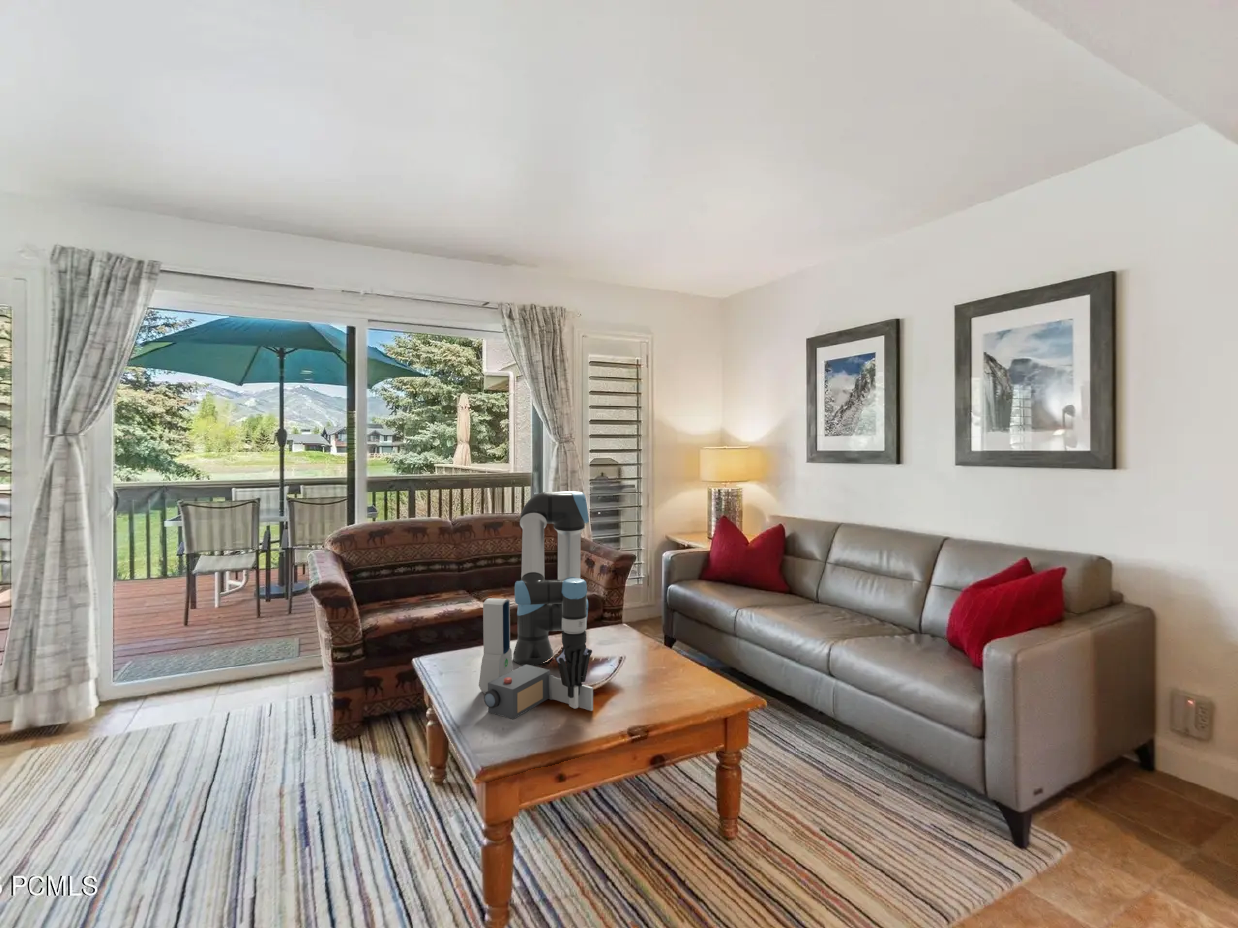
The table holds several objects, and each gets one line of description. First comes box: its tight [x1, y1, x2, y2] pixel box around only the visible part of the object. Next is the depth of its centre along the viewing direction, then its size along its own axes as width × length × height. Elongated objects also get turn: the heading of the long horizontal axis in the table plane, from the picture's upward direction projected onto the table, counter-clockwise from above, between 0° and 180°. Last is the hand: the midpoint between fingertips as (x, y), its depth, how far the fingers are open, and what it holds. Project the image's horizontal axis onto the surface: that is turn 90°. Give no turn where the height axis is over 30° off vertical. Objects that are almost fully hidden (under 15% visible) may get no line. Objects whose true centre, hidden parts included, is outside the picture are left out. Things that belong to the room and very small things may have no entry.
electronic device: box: [478, 597, 514, 694], centre depth 204 cm, size 12×8×30 cm, turn 168°
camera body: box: [483, 664, 551, 720], centre depth 190 cm, size 20×10×10 cm, turn 149°
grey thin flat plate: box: [549, 674, 594, 712], centre depth 191 cm, size 17×2×7 cm, turn 56°
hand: (573, 706), depth 186 cm, fingers closed
